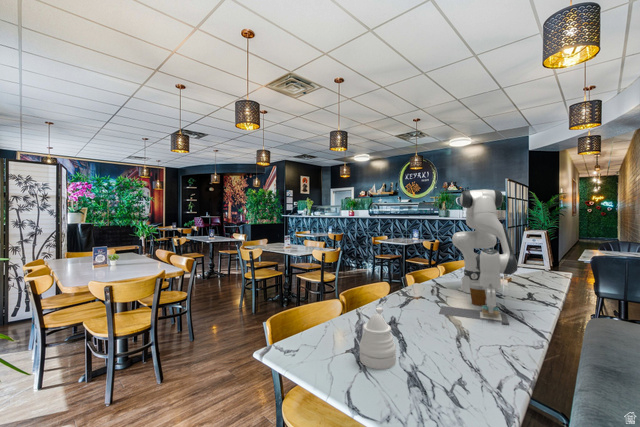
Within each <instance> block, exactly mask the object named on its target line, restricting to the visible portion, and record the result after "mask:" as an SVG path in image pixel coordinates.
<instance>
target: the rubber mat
mask: <svg viewBox="0 0 640 427" xmlns="http://www.w3.org/2000/svg"><path fill="white" fill-rule="evenodd" d="M438 314H439V315H443V316H451V317H458V318H464V319H465V318H466V319H473V320H481V321H489V322H496V323H501V325H503V326H510V324H509V323H510V322H509V319H508V316H507V313H503V312H499V315H492V314H484V313H482V310H478V309H471V308H469V309H468V308H461V307H453V306H445V305H441V306H440V308H439V311H438Z"/></svg>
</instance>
